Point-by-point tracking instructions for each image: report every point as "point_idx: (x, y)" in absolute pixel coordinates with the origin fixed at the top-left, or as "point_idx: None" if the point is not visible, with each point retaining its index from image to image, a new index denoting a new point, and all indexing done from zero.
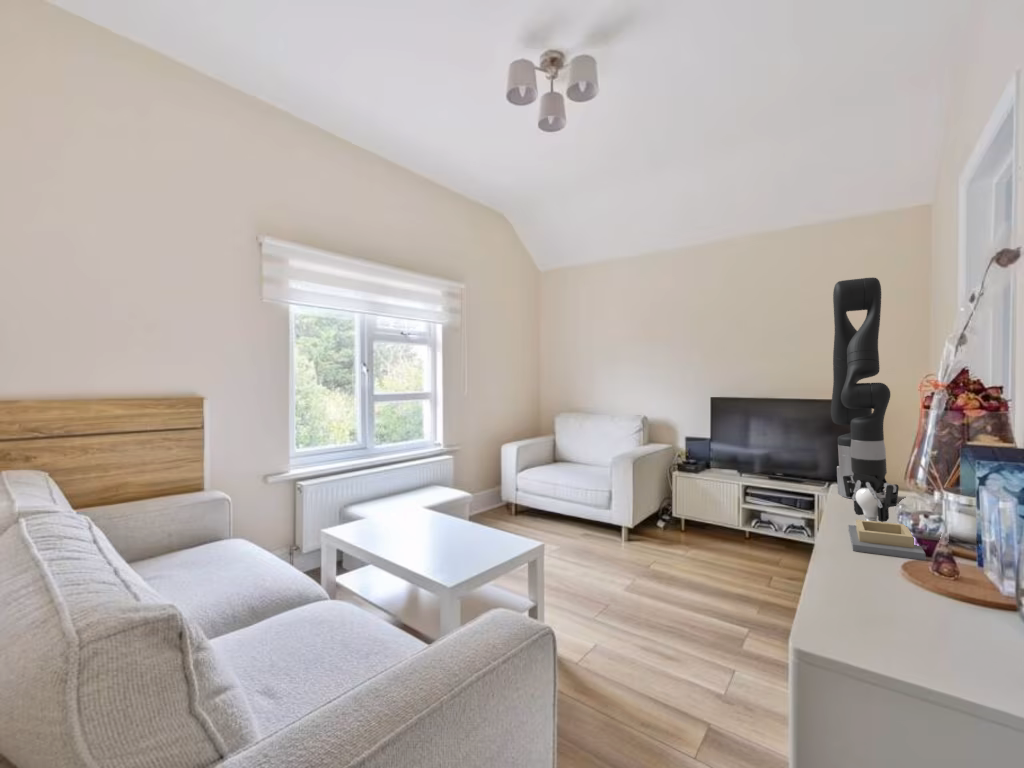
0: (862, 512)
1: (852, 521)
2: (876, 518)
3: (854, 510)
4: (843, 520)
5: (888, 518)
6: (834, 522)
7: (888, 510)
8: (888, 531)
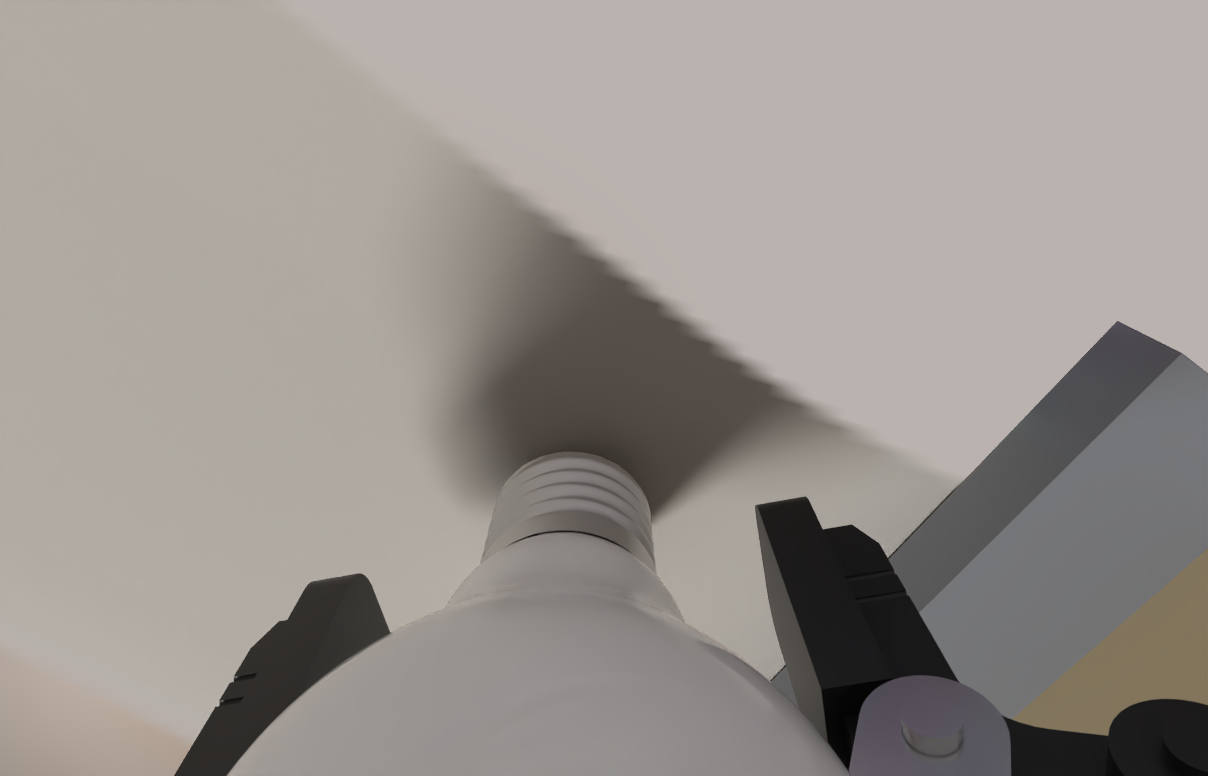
0: (359, 617)
1: (300, 563)
2: (654, 569)
3: None
4: (251, 634)
5: (867, 538)
6: None
7: (941, 652)
8: None
